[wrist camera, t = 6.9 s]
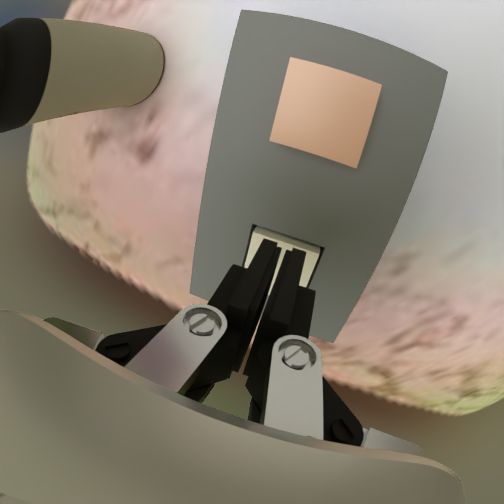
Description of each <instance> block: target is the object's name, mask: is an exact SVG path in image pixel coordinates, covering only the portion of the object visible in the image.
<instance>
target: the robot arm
mask: <svg viewBox="0 0 504 504" xmlns="http://www.w3.org/2000/svg"><path fill="white" fill-rule="evenodd" d="M277 244H278V242H274V241H271V240H268V239H265V238H264V239H263V241H262V242H261V244H260V246H259V248H258V250H257V252H256V253H255V255H254V257H253V259H252V261H251V263H250V264H249V266H248V268H245V267H242V266H239V265H236V264H233V265H232V266H231V267H230V269H229V271H228V272H227V274H226V275H225V277H224V278H223V280H222V282H221V283H220V285H219V286H218V288H217V289H216V291H215V293H214V294H213V296H212V297H211V299H210V300H209V302H208V304H207V305H206V304H193V305H190V306H187V307H186V308H184V309H183V310H181V311H180V312H179V313H178V314H177V315H176V316H175V317H174V318H173V319H172V320H171V321H170V322H169V323H168V324H166V325H161V326H156V327H151V328H145V329H140V330H135V331H130V332H123V333H117V334H113V335H110V336H107V337H105V336H103V335H102V332H99V331H95V330H92V329H89V328H86V327H83V326H79V325H77V324H74V323H71V322H68V321H65V320H62V319H59V318H55V317H51V318H46V319H44V320H42V319H40V318H37V317H35V316H32V315H29V314H26V313H23V312H18V311H13V310H0V504H466V501H465V492H464V487H463V484H462V482H461V480H460V478H459V477H458V475H456V473H454V472H453V471H452V470H450V469H449V468H448V467H446V466H444V465H441V464H440V463H438V462H436V461H433V460H431V459H428V458H425V455H424V452H423V451H422V449H421V448H420V447H419V446H417V445H415V444H413V443H410V442H407V441H404V440H401V439H399V438H396V437H393V436H391V435H388V434H385V433H383V432H380V431H378V430H375V429H373V428H369V429H368V430H367V429H364V428H362V425H361V424H360V422H359V420H357V418H356V417H355V416H354V414H353V413H352V412H351V411H350V410H349V408H348V407H347V406H346V405H345V403H344V402H343V401H342V400H341V398H340V397H339V396H338V395H337V394H336V392H335V391H334V390H333V388H332V387H331V386H330V385H329V383H328V382H327V381H326V380H325V378H324V377H323V376H322V358H321V354H320V351H319V349H318V348H317V346H316V345H315V344H314V343H313V342H312V341H310V340H308V337H309V332H310V326H311V320H312V314H313V308H314V302H315V296H316V291H315V290H312V289H309V288H306V287H303V286H300V285H299V283H300V279H301V274H302V270H303V266H304V261H305V257H306V251H303V250H299V249H296V248H293V249H292V251H290V250H287V249H286V252H285V254H284V257H283V260H282V263H281V265H280V268H279V271H278V274H277V276H276V279H275V282H274V284H273V287H272V290H271V292H270V295H269V298H268V300H267V303H266V299H267V296H268V293H269V290H270V286H271V283H272V280H273V277H274V273H275V270H276V267H277V263H278V260H279V257H280V253H281V250H282V248H281V247H278V246H277ZM265 303H266V306H265V308H264V305H265ZM263 308H264V311H263ZM262 311H263V314H262V317H261V320H260V323H259V326H258V329H257V332H256V335H255V338H254V341H253V344H252V348H251V351H250V354H249V357H248V360H247V363H246V366H245V369H244V372H243V375H247V376H249V377H248V379H247V382H246V385H245V386H246V388H247V389H248V391H249V393H250V394H251V396H252V398H251V401H250V407H249V412H248V418H247V420H245V419H242V418H240V417H236V416H234V415H231V414H228V413H225V412H222V411H220V410H217V409H214V408H212V407H209V406H206V405H204V404H202V403H203V402H204V400H205V399H206V398H207V396H208V395H209V393H210V392H211V390H212V389H213V388H214V386H215V383H216V382H219V381H222V380H225V379H227V378H230V375H231V373H232V371H235V372H238V371H239V369H240V367H241V364H242V362H243V359H244V356H245V354H246V351H247V349H248V347H249V344H250V342H251V339H252V337H253V334H254V332H255V329H256V326H257V324H258V321H259V319H260V316H261V313H262Z"/></svg>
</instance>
